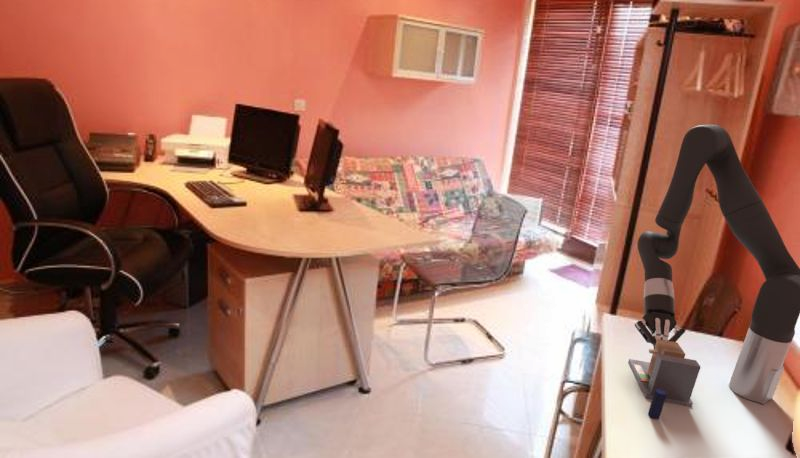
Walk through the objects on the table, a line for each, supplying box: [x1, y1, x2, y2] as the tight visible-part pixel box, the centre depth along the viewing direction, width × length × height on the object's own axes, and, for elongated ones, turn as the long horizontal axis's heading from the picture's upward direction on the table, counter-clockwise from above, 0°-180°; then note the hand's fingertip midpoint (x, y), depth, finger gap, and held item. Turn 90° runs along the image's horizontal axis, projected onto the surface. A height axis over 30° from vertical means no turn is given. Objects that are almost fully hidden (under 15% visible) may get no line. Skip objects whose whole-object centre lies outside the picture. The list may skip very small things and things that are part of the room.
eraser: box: [648, 389, 666, 420], centre depth 125 cm, size 2×2×7 cm
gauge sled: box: [647, 339, 686, 377], centre depth 138 cm, size 6×7×10 cm
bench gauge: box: [627, 354, 701, 407], centre depth 138 cm, size 17×11×11 cm, turn 172°
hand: (660, 359), depth 141 cm, fingers closed
